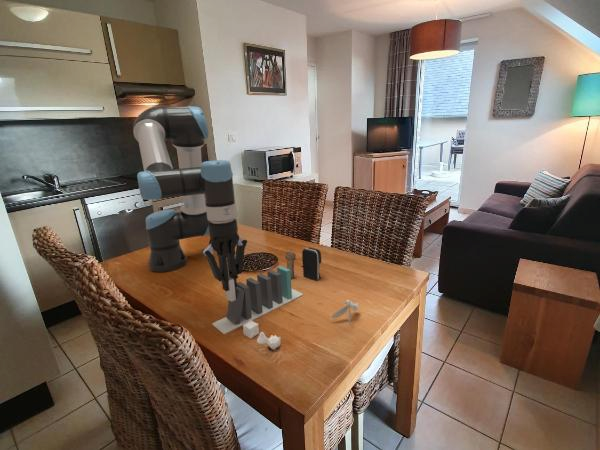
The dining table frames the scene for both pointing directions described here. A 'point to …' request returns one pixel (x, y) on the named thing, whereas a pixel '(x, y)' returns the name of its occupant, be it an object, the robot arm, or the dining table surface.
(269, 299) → the domino
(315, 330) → the dining table surface
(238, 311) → the domino
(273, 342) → the game pieces
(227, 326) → the mat
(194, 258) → the dining table surface
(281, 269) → the domino
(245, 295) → the domino
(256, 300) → the domino
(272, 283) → the domino
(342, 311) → the fairy figurine
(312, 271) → the battery charger
